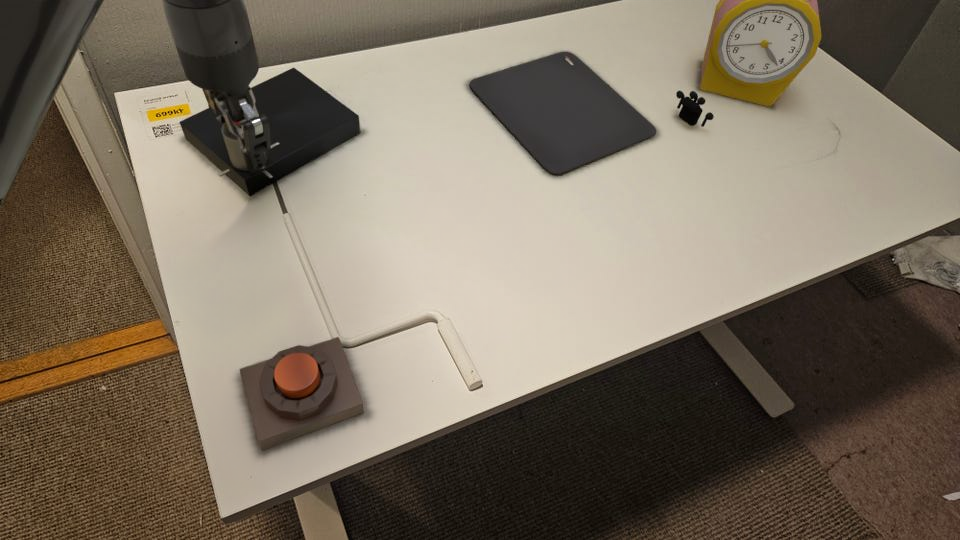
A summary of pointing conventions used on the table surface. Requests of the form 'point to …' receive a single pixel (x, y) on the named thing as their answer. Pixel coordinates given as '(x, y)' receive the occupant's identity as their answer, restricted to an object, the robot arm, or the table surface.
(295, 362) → the button
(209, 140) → the stove panel
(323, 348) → the button block
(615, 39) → the table surface
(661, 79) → the table surface
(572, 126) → the mouse pad
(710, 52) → the alarm clock
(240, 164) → the dial
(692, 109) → the wireless earbuds
